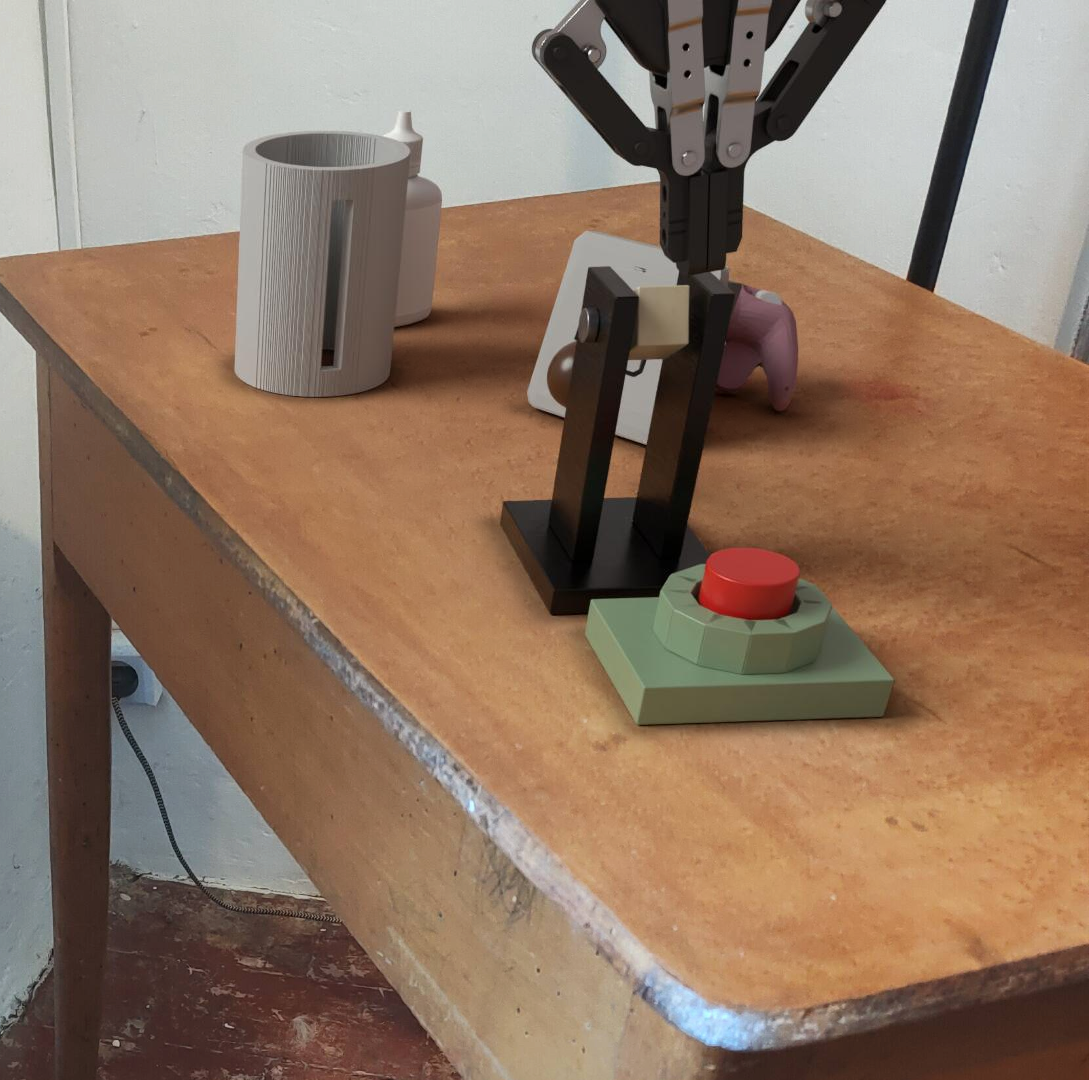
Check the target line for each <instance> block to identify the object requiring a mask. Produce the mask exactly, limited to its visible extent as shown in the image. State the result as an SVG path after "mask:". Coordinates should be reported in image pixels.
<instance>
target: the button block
mask: <svg viewBox="0 0 1089 1080" xmlns="http://www.w3.org/2000/svg"><path fill="white" fill-rule="evenodd" d="M705 566H706V564H700V565H697V566H694V567H691V568H688V569H685V570H682V571H679V572H676V573H673V574H671V575H670V576H669V578H668V579H667V581H666V583H665V584H664V586H663V588H662V589H661V591H660V595H659V597H650V598H618V599H592V600H591V602H590V607H589V613H587V618H586V619H587V620H586V625H585V629H584V631H585V632H584V636H585V638H586V639H587V641H588V643H589V644H590V646H591V648H592V650H593V652H594V653H595V655H596V656H597V658H598V660H599V662H600V663H601V665H602V668H603V669H604V670H605V673H606V674H607V676H608V677H609V679H610V680H611V683H612V684H613V686H614V688H615V690H616V691H617V693H618V695H619V697H620V698H621V700H622V702H623V703H624V706H625V708H627V710H628V712H629V714H630V715H631V717H632V719H633V720H634V723H635V724H636V725H638V726H641V725H642V726H646V725H673V724H674V725H675V724H701V723H702V724H703V723H705V724H706V723H733V722H736V723H737V722H764V721H766V722H768V721H794V720H796V721H798V720H822V719H823V720H827V719H829V720H830V719H853V718H859V719H860V718H883V717H884V715H885V712H886V709H887V706H888V702H889V699H890V695H891V693H892V689H893V686H894V682H895V679H894V677H893V676H892V675H891V674H890V672H889V671H888V670H887V669H886V668H885V667H884V665H883V664H882V663H881V662H880V660H878V659H877V657H876V656H875V655H874V654H873V653H872V651H871V650H870V649H869V648H868V647H867V645H866V644H865V643H864V642H863V641H862V639H861V637H859V635H857V634H856V632H855V631H854V630H853V629H852V628H851V626H850V625H849V624H848V623H847V622H846V620H844V619H843V617H842V616H841V614H840V613H839V612H838V611H837V610H836V609H835V607H834V606H833V603H832V602H831V601H830V599H829V598H828V597H827V596H826V595H825V594H824V592H823V591H822V590H821V589H820V588H819V586H817V585H816V584H814V583H812V582H810V581H807V580H805V579H803V578H800V577H799V580H798V584H797V588H796V592H795V596H794V600H793V604H792V608H791V611H790V613H789V615H788V616H786V617H783V618H780V619H778V620H745V619H740V618H735V617H730V616H724V615H719V614H717V613H715V612H713V611H711V610H709V609H707V608H705V607H703V606H701V605H700V604H699V594H700V589H701V584H702V580H703V575H704V571H705Z"/></svg>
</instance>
